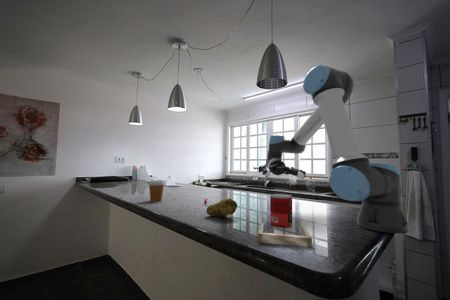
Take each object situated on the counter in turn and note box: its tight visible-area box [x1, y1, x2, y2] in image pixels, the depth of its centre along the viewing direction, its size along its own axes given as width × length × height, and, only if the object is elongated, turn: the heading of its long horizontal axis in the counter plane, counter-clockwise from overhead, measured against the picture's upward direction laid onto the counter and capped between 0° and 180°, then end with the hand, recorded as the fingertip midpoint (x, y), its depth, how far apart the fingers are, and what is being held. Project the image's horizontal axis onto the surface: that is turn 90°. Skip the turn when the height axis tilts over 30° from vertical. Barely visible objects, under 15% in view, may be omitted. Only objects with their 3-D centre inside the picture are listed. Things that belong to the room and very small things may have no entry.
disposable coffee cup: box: [148, 180, 165, 202], centre depth 126 cm, size 10×10×12 cm
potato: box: [206, 198, 238, 218], centre depth 88 cm, size 8×13×8 cm, turn 53°
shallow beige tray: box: [257, 221, 313, 248], centre depth 64 cm, size 14×13×2 cm
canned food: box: [269, 193, 293, 229], centre depth 78 cm, size 8×8×11 cm
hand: (285, 175), depth 83 cm, fingers open, 13 cm apart
